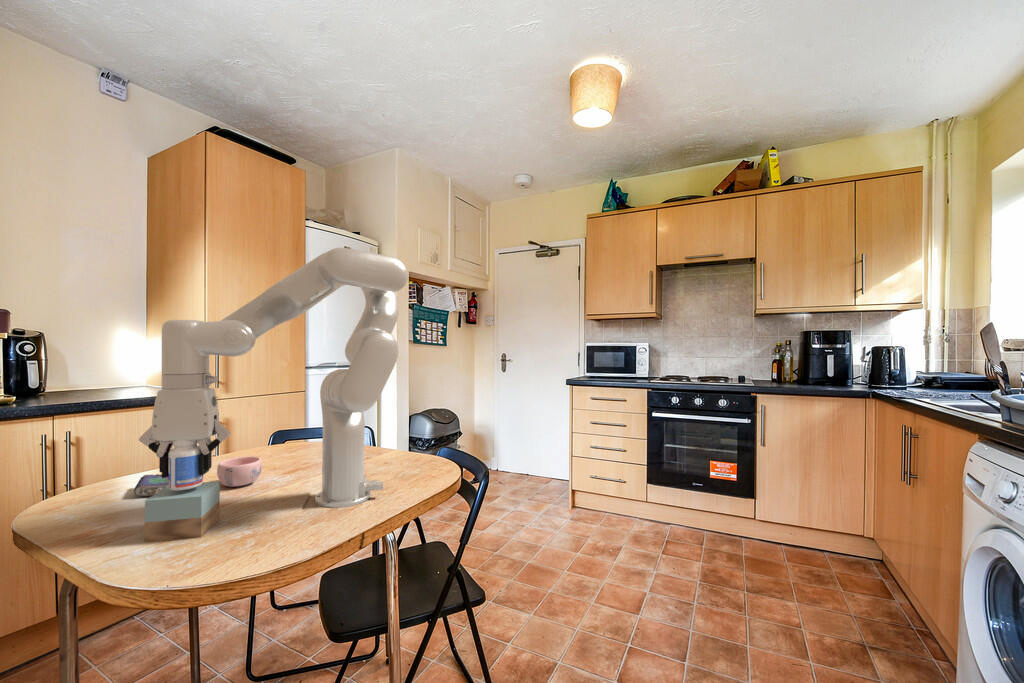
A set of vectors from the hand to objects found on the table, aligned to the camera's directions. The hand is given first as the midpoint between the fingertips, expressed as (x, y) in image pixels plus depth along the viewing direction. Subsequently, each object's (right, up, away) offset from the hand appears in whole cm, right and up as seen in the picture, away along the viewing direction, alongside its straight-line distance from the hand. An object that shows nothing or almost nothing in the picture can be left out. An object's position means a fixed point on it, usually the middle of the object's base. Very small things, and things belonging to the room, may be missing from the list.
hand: (186, 473), depth 85 cm
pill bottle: (0, -3, 0) cm, 3 cm away
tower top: (0, -7, 0) cm, 7 cm away
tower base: (0, -11, 0) cm, 11 cm away
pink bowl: (-7, -11, +29) cm, 32 cm away
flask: (-25, -12, +24) cm, 37 cm away
